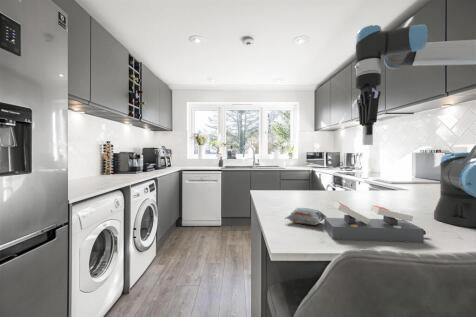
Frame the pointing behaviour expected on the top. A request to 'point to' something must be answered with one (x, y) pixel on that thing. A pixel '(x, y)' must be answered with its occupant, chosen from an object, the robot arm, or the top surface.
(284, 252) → the top surface
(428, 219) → the top surface
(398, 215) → the rocker white
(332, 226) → the rocker switch box
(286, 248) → the top surface
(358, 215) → the white switch paddle
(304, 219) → the packaged food
